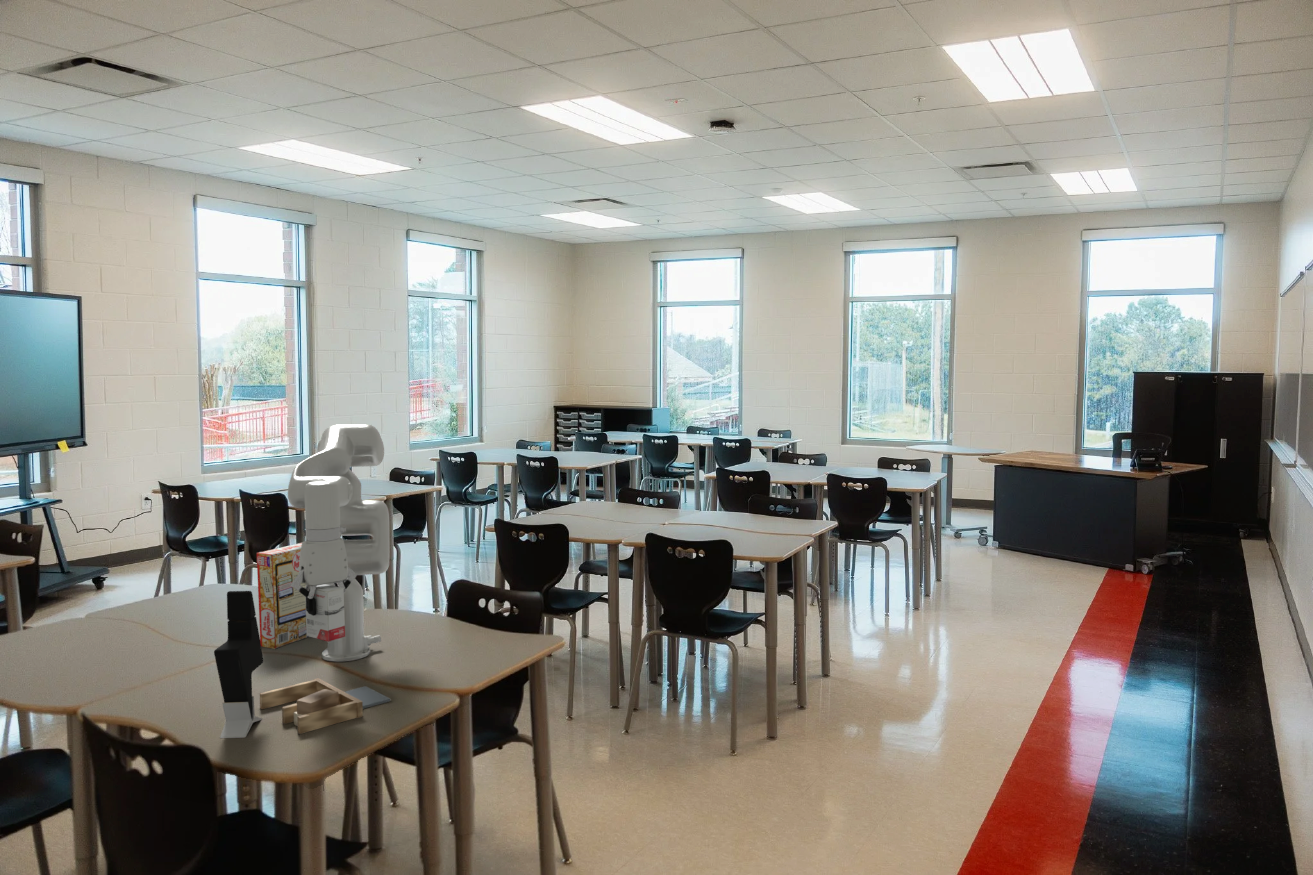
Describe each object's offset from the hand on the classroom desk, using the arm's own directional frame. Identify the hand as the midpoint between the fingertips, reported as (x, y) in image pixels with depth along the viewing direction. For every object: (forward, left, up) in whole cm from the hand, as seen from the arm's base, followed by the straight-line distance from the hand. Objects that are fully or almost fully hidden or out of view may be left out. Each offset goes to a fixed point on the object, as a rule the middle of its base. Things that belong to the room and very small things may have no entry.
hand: (325, 610), depth 212 cm
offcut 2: (+6, +8, -23) cm, 25 cm away
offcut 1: (+6, +8, -20) cm, 22 cm away
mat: (-7, +3, -22) cm, 23 cm away
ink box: (0, 0, -6) cm, 6 cm away
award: (+20, 0, -22) cm, 30 cm away
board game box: (-17, -56, -22) cm, 63 cm away
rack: (+6, +2, -22) cm, 23 cm away
